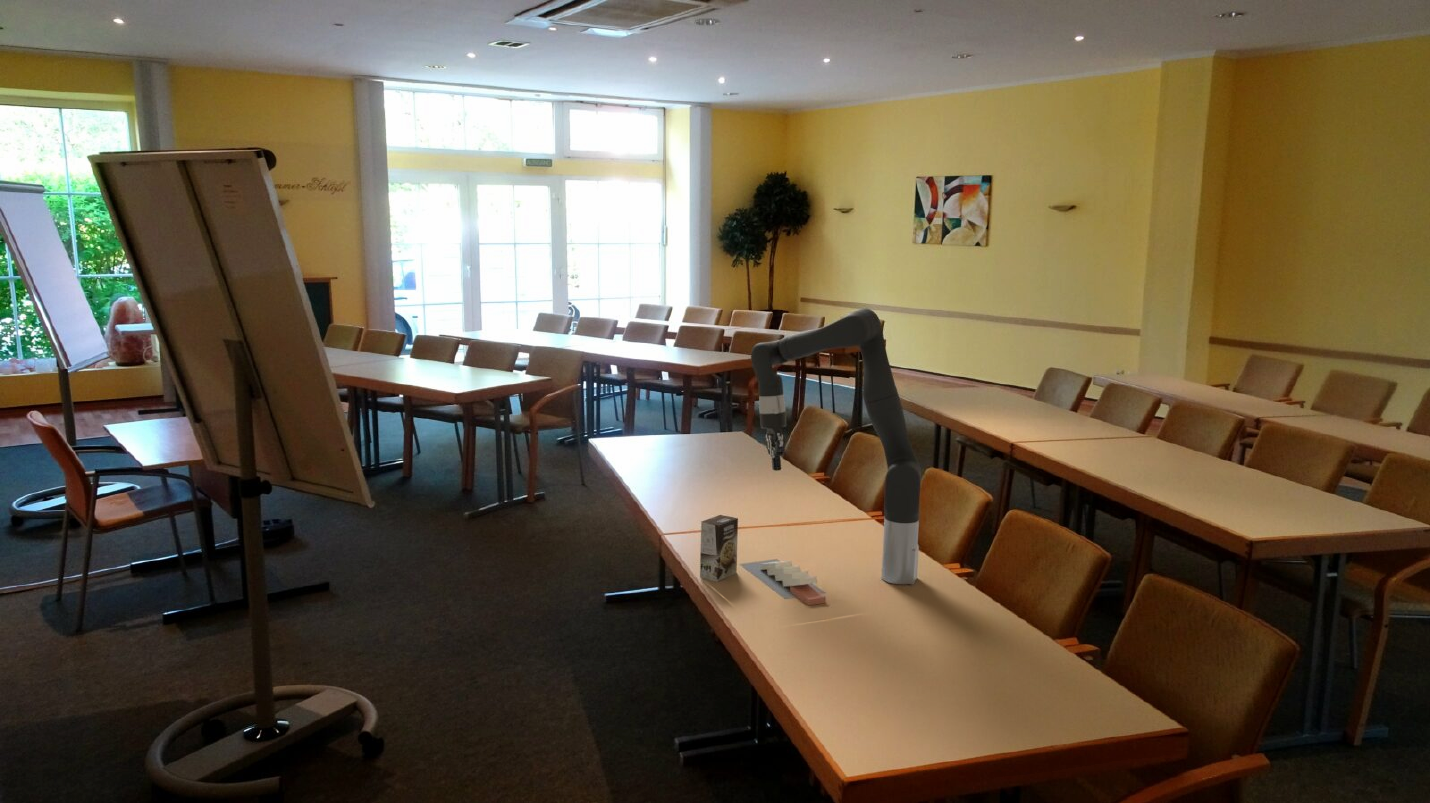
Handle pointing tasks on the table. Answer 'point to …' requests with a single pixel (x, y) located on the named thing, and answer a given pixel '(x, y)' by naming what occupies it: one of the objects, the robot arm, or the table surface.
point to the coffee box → (718, 547)
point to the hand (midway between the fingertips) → (776, 470)
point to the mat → (772, 579)
